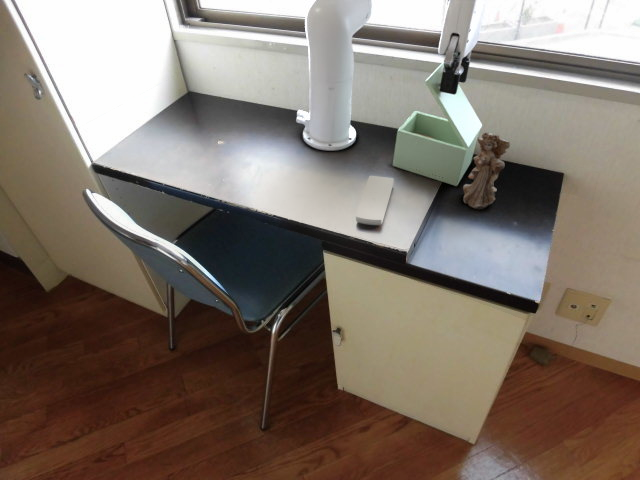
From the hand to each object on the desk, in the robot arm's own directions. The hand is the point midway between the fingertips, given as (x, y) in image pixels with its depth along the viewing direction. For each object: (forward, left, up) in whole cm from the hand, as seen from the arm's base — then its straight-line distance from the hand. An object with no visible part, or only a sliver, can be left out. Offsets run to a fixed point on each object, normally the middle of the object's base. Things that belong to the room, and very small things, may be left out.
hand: (452, 85), depth 92 cm
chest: (-1, 0, -19) cm, 19 cm away
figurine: (+11, -8, -19) cm, 23 cm away
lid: (+1, 0, -4) cm, 4 cm away
